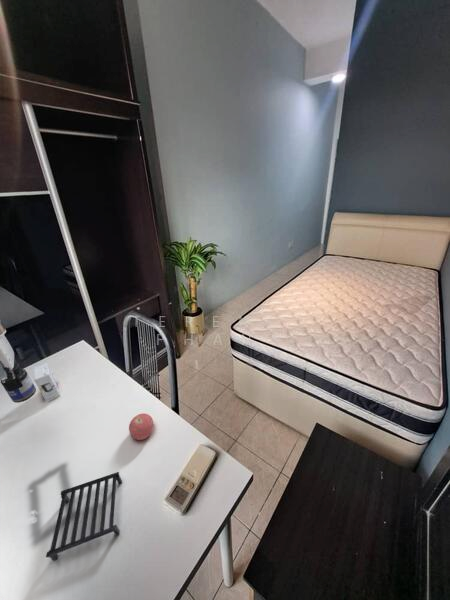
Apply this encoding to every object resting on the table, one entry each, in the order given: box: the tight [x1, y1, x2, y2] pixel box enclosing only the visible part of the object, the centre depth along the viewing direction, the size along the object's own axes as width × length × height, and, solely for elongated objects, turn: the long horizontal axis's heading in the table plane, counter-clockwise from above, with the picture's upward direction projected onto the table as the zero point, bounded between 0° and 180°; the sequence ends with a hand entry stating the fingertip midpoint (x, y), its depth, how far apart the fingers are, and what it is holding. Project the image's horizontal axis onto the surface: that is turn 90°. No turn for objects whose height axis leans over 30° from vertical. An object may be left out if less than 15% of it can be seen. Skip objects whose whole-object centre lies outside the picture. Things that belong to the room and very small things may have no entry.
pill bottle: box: [0, 362, 37, 404], centre depth 73 cm, size 6×6×11 cm
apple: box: [128, 413, 154, 441], centre depth 79 cm, size 7×7×8 cm
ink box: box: [32, 362, 61, 403], centre depth 96 cm, size 9×5×12 cm, turn 37°
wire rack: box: [45, 471, 123, 562], centre depth 61 cm, size 14×13×5 cm
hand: (16, 381), depth 73 cm, fingers closed on pill bottle, 6 cm apart
